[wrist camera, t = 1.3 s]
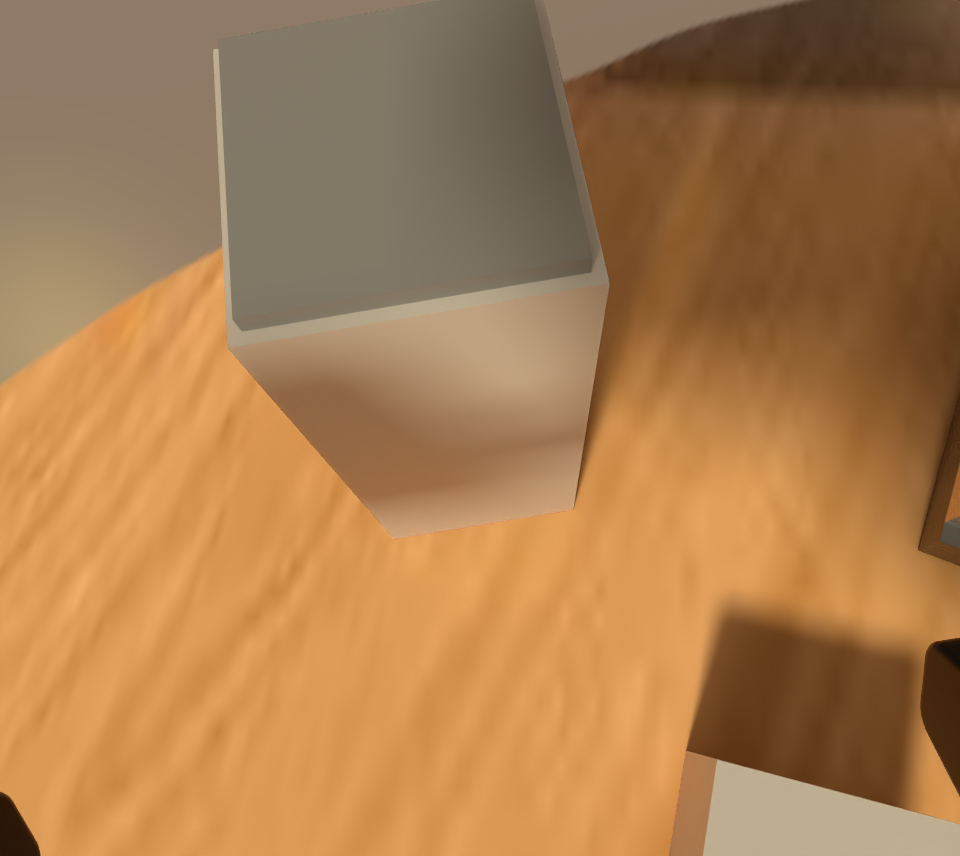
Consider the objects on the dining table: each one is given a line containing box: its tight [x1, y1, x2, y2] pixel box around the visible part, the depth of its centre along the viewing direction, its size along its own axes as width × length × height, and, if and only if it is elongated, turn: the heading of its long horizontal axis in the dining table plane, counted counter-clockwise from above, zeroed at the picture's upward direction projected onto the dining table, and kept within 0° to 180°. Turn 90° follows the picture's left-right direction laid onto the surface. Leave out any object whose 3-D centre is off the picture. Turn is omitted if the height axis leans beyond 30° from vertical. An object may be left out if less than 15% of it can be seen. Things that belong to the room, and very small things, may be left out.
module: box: [213, 0, 610, 539], centre depth 17 cm, size 5×5×13 cm
